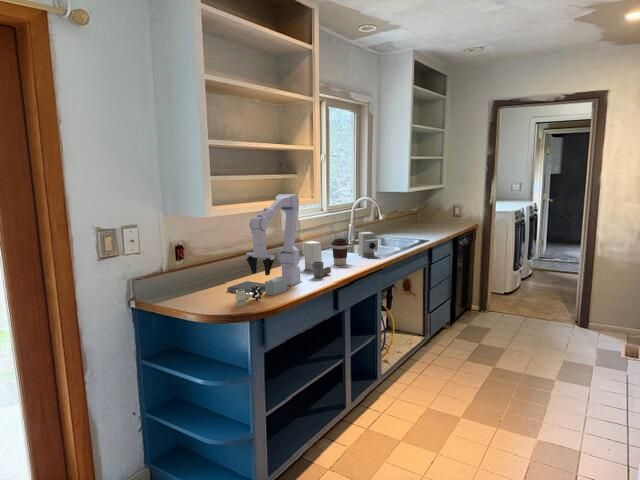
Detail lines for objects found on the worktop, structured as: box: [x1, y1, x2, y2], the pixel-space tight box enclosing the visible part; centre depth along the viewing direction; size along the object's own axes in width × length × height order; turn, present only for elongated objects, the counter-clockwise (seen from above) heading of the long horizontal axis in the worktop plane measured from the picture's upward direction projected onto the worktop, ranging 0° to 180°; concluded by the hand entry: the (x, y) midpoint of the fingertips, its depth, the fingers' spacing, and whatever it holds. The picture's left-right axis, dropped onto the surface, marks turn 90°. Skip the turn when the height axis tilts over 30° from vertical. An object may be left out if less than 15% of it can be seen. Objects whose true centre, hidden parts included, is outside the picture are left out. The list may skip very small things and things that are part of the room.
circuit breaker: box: [357, 231, 379, 258], centre depth 285 cm, size 8×14×15 cm, turn 21°
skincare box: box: [303, 240, 323, 272], centre depth 250 cm, size 8×7×16 cm
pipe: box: [311, 261, 332, 279], centre depth 233 cm, size 6×13×8 cm, turn 138°
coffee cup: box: [331, 238, 349, 266], centre depth 262 cm, size 10×10×15 cm
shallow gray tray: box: [227, 280, 265, 294], centre depth 208 cm, size 14×15×2 cm
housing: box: [264, 276, 288, 296], centre depth 203 cm, size 10×5×6 cm, turn 149°
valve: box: [235, 285, 264, 308], centre depth 187 cm, size 7×7×12 cm
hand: (260, 274), depth 198 cm, fingers open, 7 cm apart
